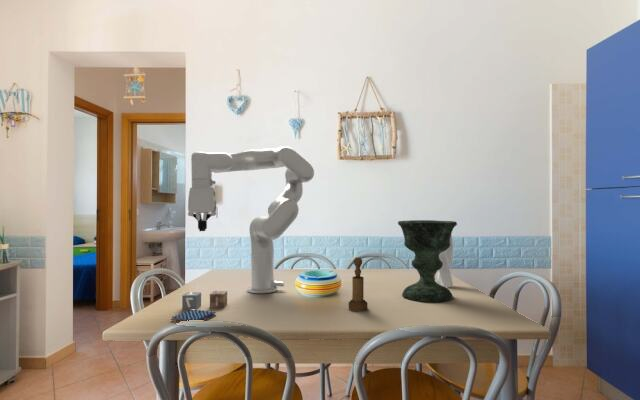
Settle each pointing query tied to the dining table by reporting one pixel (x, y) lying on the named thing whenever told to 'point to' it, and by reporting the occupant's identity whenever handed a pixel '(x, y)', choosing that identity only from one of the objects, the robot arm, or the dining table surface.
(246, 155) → the robot arm
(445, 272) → the skyscraper
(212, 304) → the walnut number block
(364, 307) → the brown tall piece
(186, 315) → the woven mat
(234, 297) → the dining table surface
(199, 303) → the charcoal number block
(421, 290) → the goblet
